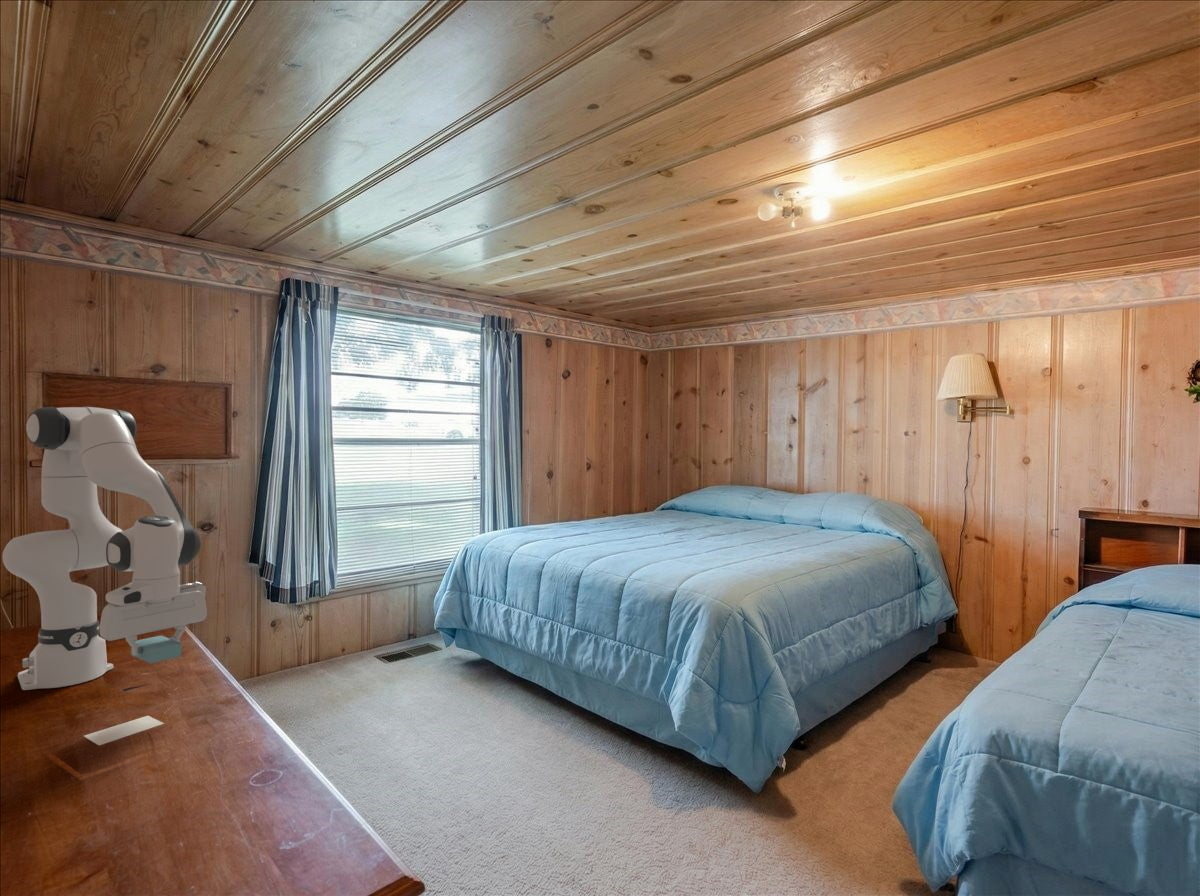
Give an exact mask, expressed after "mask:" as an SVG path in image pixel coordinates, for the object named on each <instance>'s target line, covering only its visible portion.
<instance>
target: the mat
mask: <svg viewBox="0 0 1200 896" xmlns="http://www.w3.org/2000/svg"><path fill="white" fill-rule="evenodd" d="M164 724H165V723H164V722H162V721H160V720H158V719H156V718H154V717H152V716H149V715H145V716H142V717H139V718H136V719H132V720H130V721H127V722H124V723H120V724H117V725H113V726H111V727H107V728H104V729H100V730H97V731H95V732H94V731H93V732H91V733H89V734H86V735H85V734H84V735H83V737H84V738H86V739H87V740H89V741H90V742H92V743H94V744H96V745H98V746H103V745H105V744H107V743H111V742H114V741H117V740H120V739H123V738H125V737H128V736H132V735H135V734H138V733H140V732H144V731H147V730H150V729H154V728H156V727H159V726H162V725H164Z"/></svg>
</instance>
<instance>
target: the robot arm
mask: <svg viewBox="0 0 1200 896" xmlns="http://www.w3.org/2000/svg"><path fill="white" fill-rule="evenodd" d="M137 427H138V426H137V422H136V419H135V417H134V416H133V415H132V414H131V412H128V411H125V410H122V409H117V408H112V409H109V408H103V407H93V406H82V407H81V406H80V407H79V406H78V407H77V406H69V407H66V406H65V407H54V406H47V407H46V406H45V407H39V408H36V409H34V410H33V411H32V412H30V414H29V416H28V418H27V422H26V428H25V431H26V436H27V438H28V440H29V442H30V443H31V444H32V445H33V446H35V447H36V448H37V449H38V448H39V449H43V450H44V451H43V452H44V453H43V455H42V463H41V488H40V489H41V497H40V498H41V506H42V507H43V509H44V510H45V511H46V512H49V513H50V514H52V515H55V516H58V517H61V518H64V519H66V520H67V521H68V523H69V528H67V529H59V530H57V529H56V530H47V531H46V530H45V531H37V532H32V533H28V534H23V535H20V536H16V537H12V539H10V541H8V543H7V544H6V545H5V547H4V549H3V551H2V563H3V565H4V567H5V569H6V570H7V571H8V572H10V573H11V574H12V575H14V576H16V577H18V578H20V579H22V580H24V581H25V582H27V583H28V584H29V585H30V586H31V587H32V588H33V590H35V592H36V594H37V596H38V600H39V605H40V613H41V614H40V618H41V620H40V621H41V627H40V628H39V631H38V633H37V634H38V635H37V637H38V638H37V642H38V644H36V646H35V647H34V649H33V650H32V651H31V652H29V657H25V658H22V661H21V662H22V663H21V664H22V668H26V669H25V670H22V671H19V672H17V679H18V682H19V685H20V688H21V690H22V691H31V690H37V689H56V688H62V687H68V686H74V685H78V684H82V683H86V682H89V681H92V680H95V679H97V678H99V677H101V676H103V675H104V674H105V673H106V672H108V671H110V670H112V669H114V663H109V662H108V659H107V645H106V641H109V642H110V641H115V640H120V639H124V638H125V641H126V643H128V645H129V646H130V648H131V647H132V655H134V656H135V655H139V654H142V653H143V651H142V650H143V646H141V645H137V644H136V643H135V641H137V640H138V636H139V635H144V634H149V633H152V632H153V633H154V632H158V631H163V630H167V629H171V628H174V630H175V633H174V634H173V636H172V637H168V638H169V639H172V640H175V641H178V642H180V643H181V637H182V636H183V634H184V632H185V630H186V625H190V624H194V623H200V622H203V621H204V620H205V619H206V617H207V616H208V609H207V603H206V599H205V598H206V595H207V589H206V588H207V587H206V585H204V584H203V583H201V582H199V581H195V582H191V583H183V584H181V570H180V568H179V567H182V566H183V567H184V566H186V565H187V566H188V565H189V564H190V563H192V562H193V560H195V558H196V557H197V556H198V554H199V552H200V550H201V548H202V547H201V546H202V543H201V542H202V541H201V537H200V535H199V533H198V532H197V530H196V529H195V527H193V525H192V524H191V523H190V521H189V520H188V519H187V517H186V515H185V513H184V511H183V509H182V507H181V505H180V504H179V502H178V500H177V498H176V496H175V494H174V493H173V491H172V489H171V488H170V486H169V484H168V482H167V481H166V479H165V477H164V476H163V475H162V473H161V472H159V471H158V470H156V469H155V468H152V467H151V466H150V465H149V464H148V463H147V462H146V461H145V460H144V459H143V458H142V456H141V454H140V453H139V451H138V449H137V445H136V443H135V439H136V437H137V431H138V428H137ZM98 487H99V488H103V489H105V490H109V491H113V492H119V493H123V494H128V495H132V496H134V497H138V498H140V499H142V500H144V501H146V502H147V503H148V504H149V505H150V506H151V508H152V510H153V512H154V514H155V515H148V516H143V517H141V518H138V519H137V520H136V521H135V522H134V525H133V526H132V527H129V528H127V529H125V530H123V529H121V528H120V527H118V526H115V524H113V523H112V522H111V521H109V520H108V518H106V516H105V515H104V513H103V512H102V510H101V506H100V504H99V498H98ZM107 566H110V567H112V568H113V569H115V570H116V571H119V572H133V573H132V579H131V582H129V583H127V584H125V585H123V586H120V587H118V588H115V589H113V590H111V591H108V592H107V593H106V594H105V601H106V602H107V604H106V605H105V606H104V608H103V609H102V612H101V616H100V621H99V620H98V615H97V613H98V604H97V603H98V595H97V593H96V591H95V590H94V589H93V588H92V587H90V586H88V585H86V584H83V583H82V584H81V583H78V582H74V581H72V579H71V577H70V573H71V572H75V571H76V572H77V571H83V570H90V569H97V568H98V569H99V568H102V567H107ZM99 635H100V636H99ZM132 655H131V656H132ZM134 656H133V657H134ZM27 668H28V669H27Z"/></svg>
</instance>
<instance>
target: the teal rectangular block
mask: <svg viewBox="0 0 1200 896" xmlns="http://www.w3.org/2000/svg"><path fill="white" fill-rule="evenodd" d="M169 638H170V637H166V636H164V635H157V636H151V637H147V638H146V637H145V638H143V639H137V640H134V641H135V643H136V644H137V645H141V646H143V650H142V651H143V653H142V654H139V655H135V656H134V655H132V647H131V646H130V656H132V657H135V658H137V659H140V660H142V661H144V662H146V663H149V664H155V663H158V662H163V661H166V660H171V659H175V658H180V657H182V648H183V646H182V645H183V643H182V642H181V641H180V642H178V641H175V640H172V639H169Z"/></svg>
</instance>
